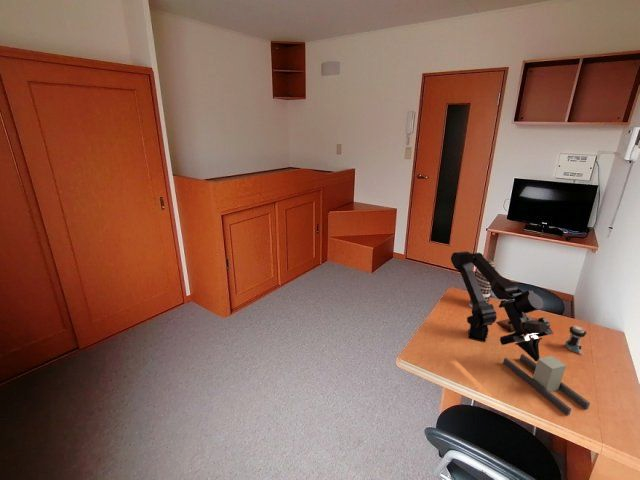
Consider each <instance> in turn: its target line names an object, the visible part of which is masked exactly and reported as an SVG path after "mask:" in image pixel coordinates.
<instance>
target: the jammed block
mask: <svg viewBox="0 0 640 480" xmlns="http://www.w3.org/2000/svg"><path fill="white" fill-rule="evenodd" d="M536 364H537V365H536V369H535V371H533V372H534V374H533V375H532V378H533V379H534V380H535V381H537V382H538V383H539V384H540V385H542V386H543V387H544V388H545V389H547V390H548V391H549V392H551V393H553V392H555V391H559V386H560V383H561V382H562V379H563V376H564V374H565V370H566V367H567V365H566V364H565V363H563V362H562V361H561V360H559V359H558V358H556V357H555V356H553V355H548V356H545V357H541V358H540V357H539V359H538V361H536Z"/></svg>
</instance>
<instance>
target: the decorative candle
mask: <svg viewBox="0 0 640 480" xmlns="http://www.w3.org/2000/svg"><path fill="white" fill-rule="evenodd" d="M485 259H486V260H487V261H488V263H489V264H490V265H491V266H492V267H493V268H494V269H495V270H496V267H497V266H498V264H497V263H496V262H495V261H494V260H493V259H490V258H485ZM474 275H475V277H476V280H477V282H478V285H479V287H480V290H481V292H482V295H483V297H484V299H485V301H486V302H487V303H488V304H490V299H491V291H492V290H491V285H490V283H489V282H488V281H487V279H486V278H485V277H484V276H483V275H482V274H481V273H480V271H479V270H478V269H477V268H476V267H475V269H474ZM469 298H470V297H469ZM468 305H469V307H470V308H471V309H472V307H473V304H472V301H471V298H470V299H469V304H468Z"/></svg>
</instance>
